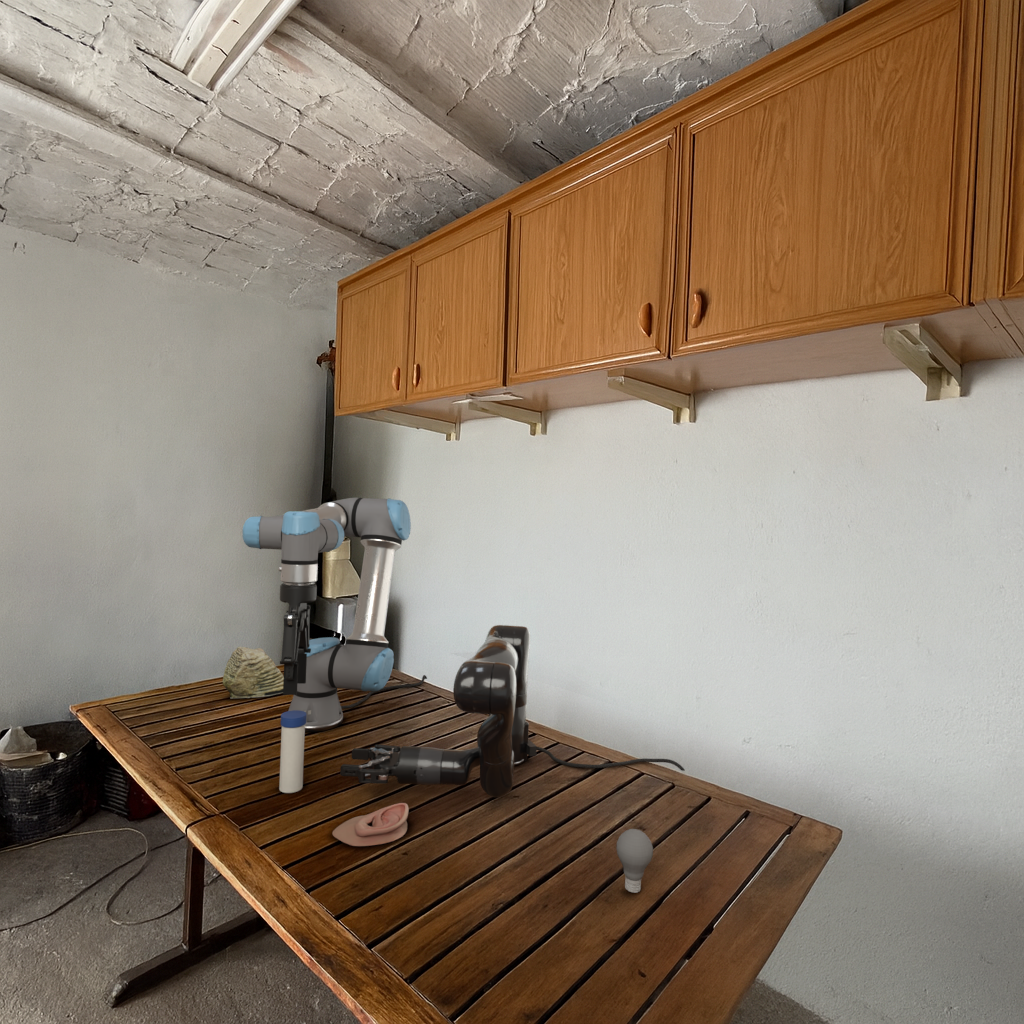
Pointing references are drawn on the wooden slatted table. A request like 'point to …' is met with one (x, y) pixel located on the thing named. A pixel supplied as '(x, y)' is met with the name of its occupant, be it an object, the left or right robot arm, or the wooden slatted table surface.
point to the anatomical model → (374, 826)
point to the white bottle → (292, 759)
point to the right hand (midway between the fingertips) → (346, 761)
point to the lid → (293, 719)
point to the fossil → (252, 674)
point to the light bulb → (634, 857)
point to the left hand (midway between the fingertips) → (294, 688)
